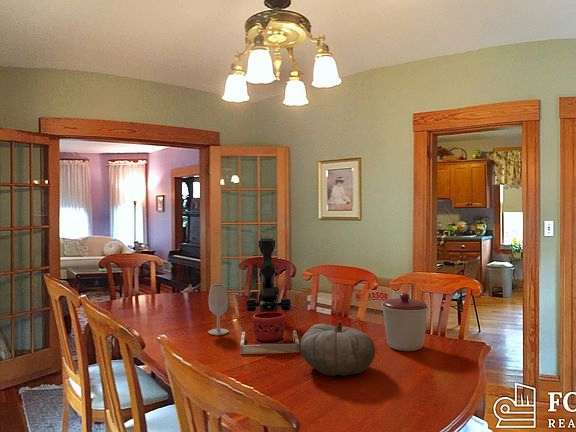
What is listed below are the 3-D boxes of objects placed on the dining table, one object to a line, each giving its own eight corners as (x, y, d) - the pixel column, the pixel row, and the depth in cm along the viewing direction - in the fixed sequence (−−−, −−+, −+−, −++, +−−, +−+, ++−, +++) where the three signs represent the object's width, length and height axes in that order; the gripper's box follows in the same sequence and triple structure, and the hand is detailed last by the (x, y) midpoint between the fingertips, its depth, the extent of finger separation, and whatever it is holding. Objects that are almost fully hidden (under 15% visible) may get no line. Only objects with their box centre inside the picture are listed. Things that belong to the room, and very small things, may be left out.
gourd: (318, 382, 130) (319, 322, 133) (286, 369, 153) (287, 317, 156) (389, 378, 140) (388, 322, 143) (348, 366, 162) (348, 318, 165)
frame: (242, 339, 184) (242, 331, 184) (295, 337, 185) (295, 330, 185) (240, 354, 165) (240, 346, 164) (300, 352, 166) (299, 344, 166)
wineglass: (232, 332, 193) (232, 285, 193) (216, 337, 187) (216, 287, 186) (220, 329, 199) (219, 282, 199) (204, 333, 193) (203, 285, 192)
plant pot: (288, 339, 182) (287, 310, 182) (282, 350, 169) (282, 318, 169) (257, 338, 184) (256, 310, 184) (249, 348, 171) (249, 317, 171)
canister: (372, 344, 176) (371, 291, 175) (408, 338, 183) (408, 287, 183) (400, 357, 159) (400, 299, 159) (439, 351, 166) (439, 295, 166)
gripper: (246, 280, 187) (245, 312, 177) (290, 279, 189) (292, 311, 178) (247, 295, 195) (246, 326, 185) (289, 294, 197) (291, 325, 186)
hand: (268, 322), depth 183 cm, fingers closed
